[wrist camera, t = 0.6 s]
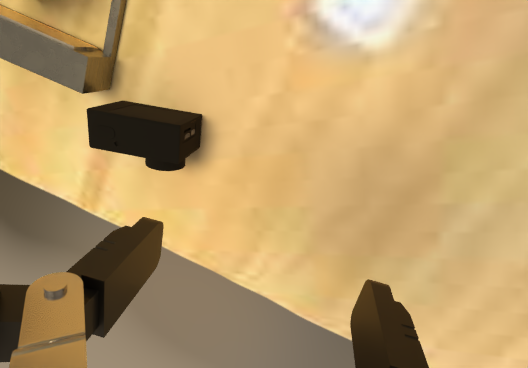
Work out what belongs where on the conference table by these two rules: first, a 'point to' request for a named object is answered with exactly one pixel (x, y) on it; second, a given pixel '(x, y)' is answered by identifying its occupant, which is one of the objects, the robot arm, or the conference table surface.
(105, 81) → the vise
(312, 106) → the conference table surface
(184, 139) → the digital camera
